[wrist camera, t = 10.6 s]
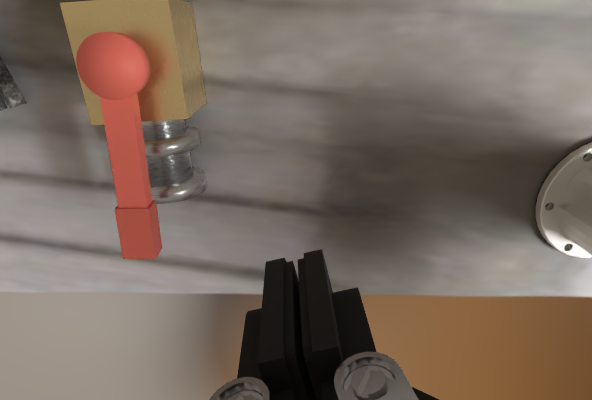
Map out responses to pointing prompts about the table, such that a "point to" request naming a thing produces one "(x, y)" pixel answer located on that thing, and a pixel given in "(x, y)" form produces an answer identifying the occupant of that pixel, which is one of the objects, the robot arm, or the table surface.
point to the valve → (9, 89)
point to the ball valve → (154, 83)
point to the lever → (124, 134)
